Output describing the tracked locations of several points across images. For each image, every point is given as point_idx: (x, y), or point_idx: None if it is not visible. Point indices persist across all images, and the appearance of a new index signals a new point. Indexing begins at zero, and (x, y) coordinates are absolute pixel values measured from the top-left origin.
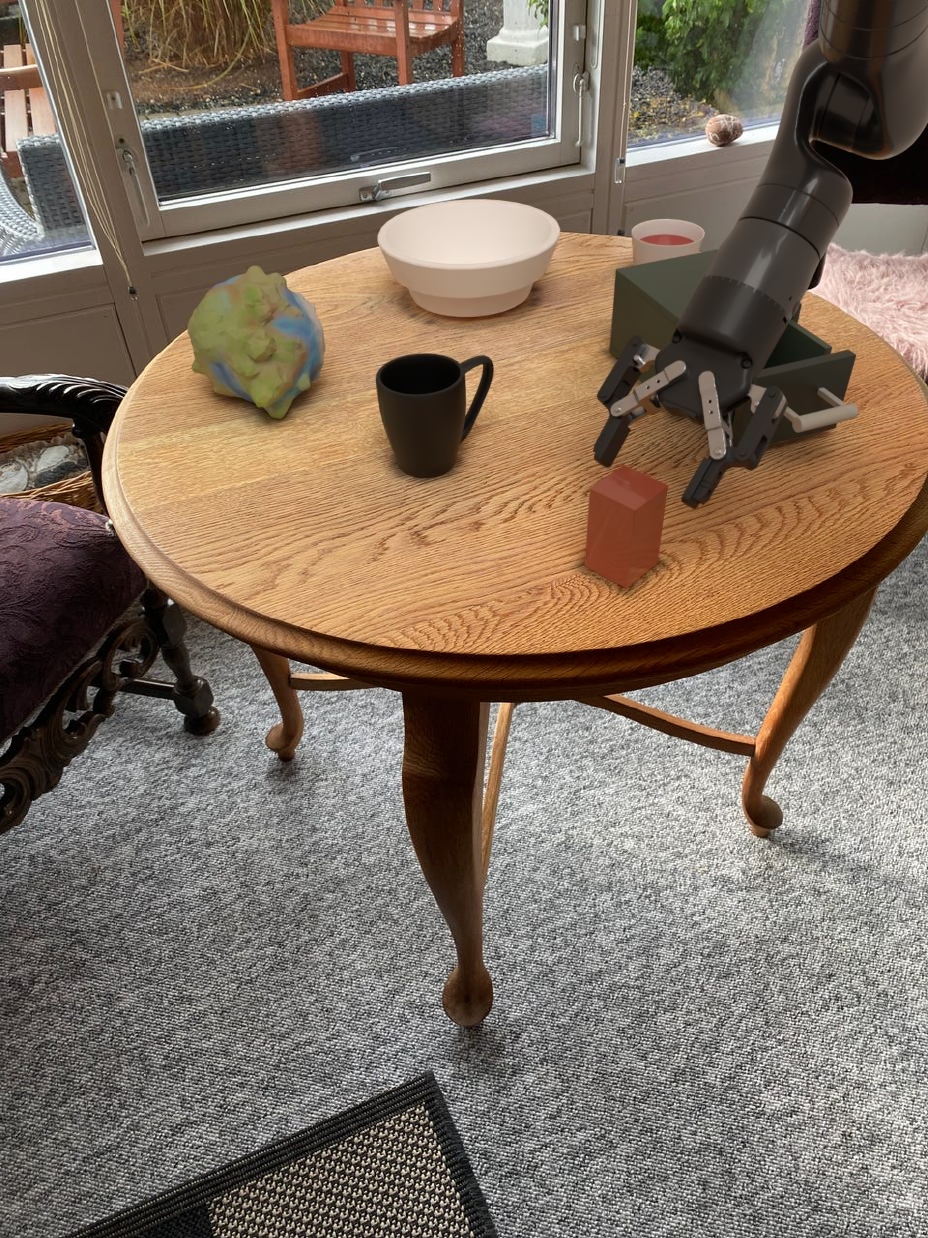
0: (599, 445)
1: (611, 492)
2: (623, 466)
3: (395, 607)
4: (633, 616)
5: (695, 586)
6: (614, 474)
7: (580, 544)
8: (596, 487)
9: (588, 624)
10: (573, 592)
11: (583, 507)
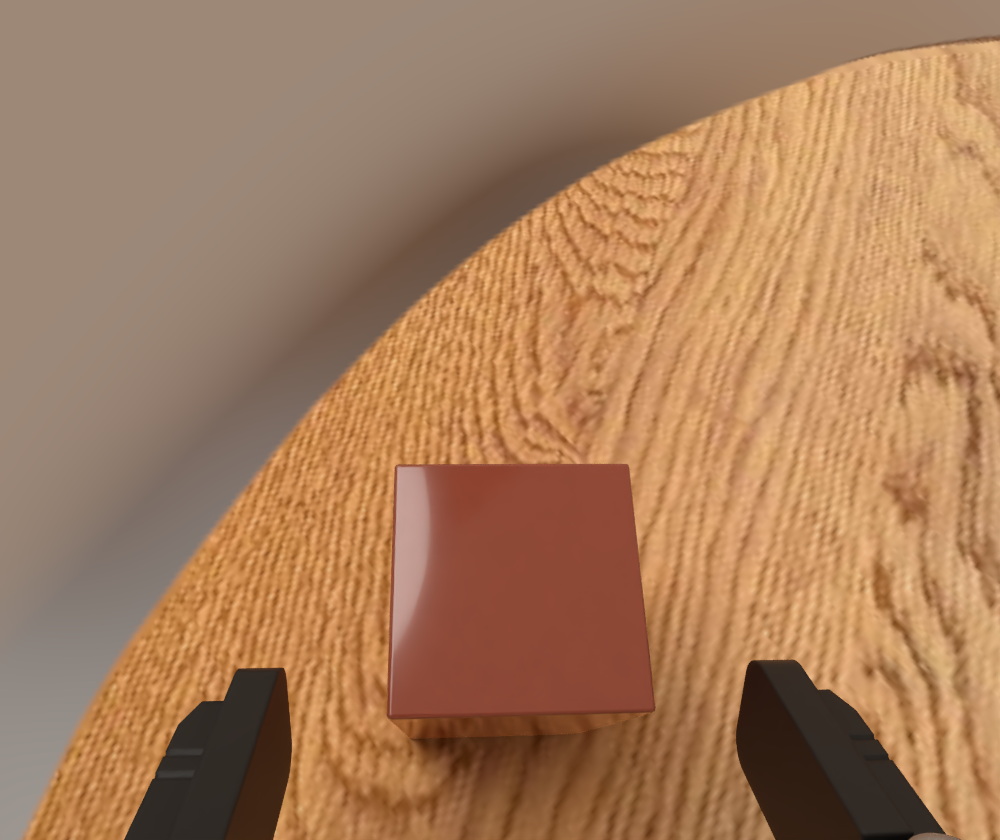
0: (819, 693)
1: (543, 494)
2: (642, 692)
3: (757, 189)
4: (332, 496)
5: None
6: (627, 611)
7: None
8: (612, 483)
9: (406, 401)
10: None
11: None
